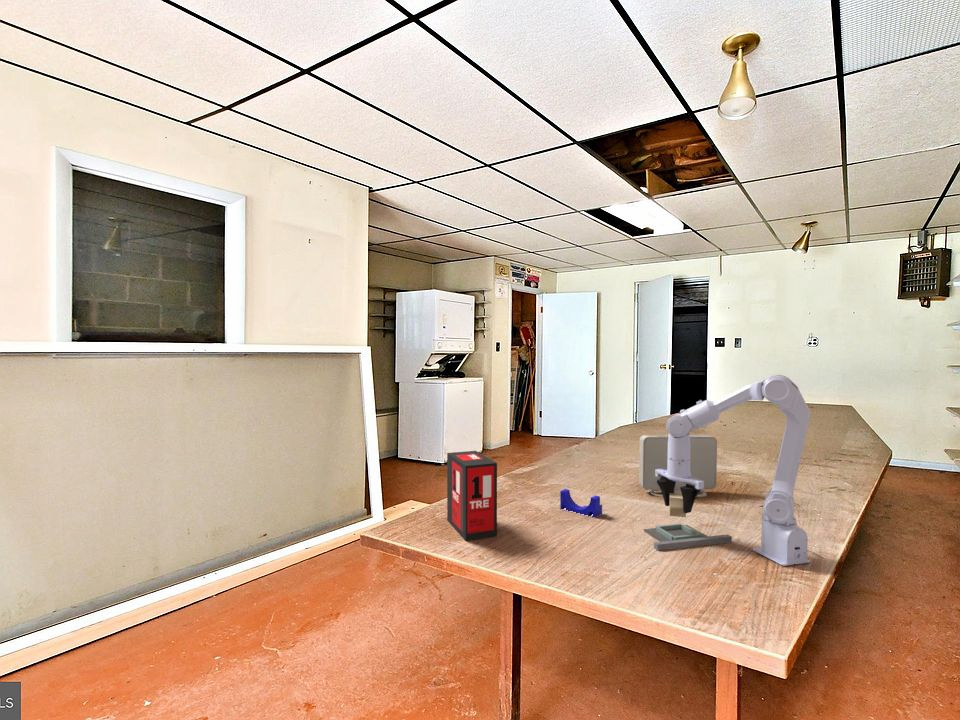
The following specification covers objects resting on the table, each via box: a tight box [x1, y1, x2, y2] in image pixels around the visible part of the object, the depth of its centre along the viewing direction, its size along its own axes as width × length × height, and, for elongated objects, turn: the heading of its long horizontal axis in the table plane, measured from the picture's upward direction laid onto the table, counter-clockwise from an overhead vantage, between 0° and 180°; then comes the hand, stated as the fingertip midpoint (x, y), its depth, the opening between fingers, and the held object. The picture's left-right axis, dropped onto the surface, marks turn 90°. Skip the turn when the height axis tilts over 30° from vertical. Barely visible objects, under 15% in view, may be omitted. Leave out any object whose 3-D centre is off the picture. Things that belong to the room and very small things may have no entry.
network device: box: [638, 434, 718, 498], centre depth 174 cm, size 26×9×20 cm, turn 92°
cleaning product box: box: [446, 450, 498, 542], centre depth 141 cm, size 16×9×20 cm, turn 21°
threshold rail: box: [653, 534, 733, 552], centre depth 130 cm, size 2×22×2 cm, turn 104°
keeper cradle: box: [642, 523, 708, 542], centre depth 136 cm, size 11×14×2 cm
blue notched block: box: [559, 488, 603, 518], centre depth 155 cm, size 12×4×6 cm, turn 50°
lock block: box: [668, 493, 687, 518], centre depth 136 cm, size 4×4×5 cm
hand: (678, 508), depth 136 cm, fingers closed on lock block, 6 cm apart
